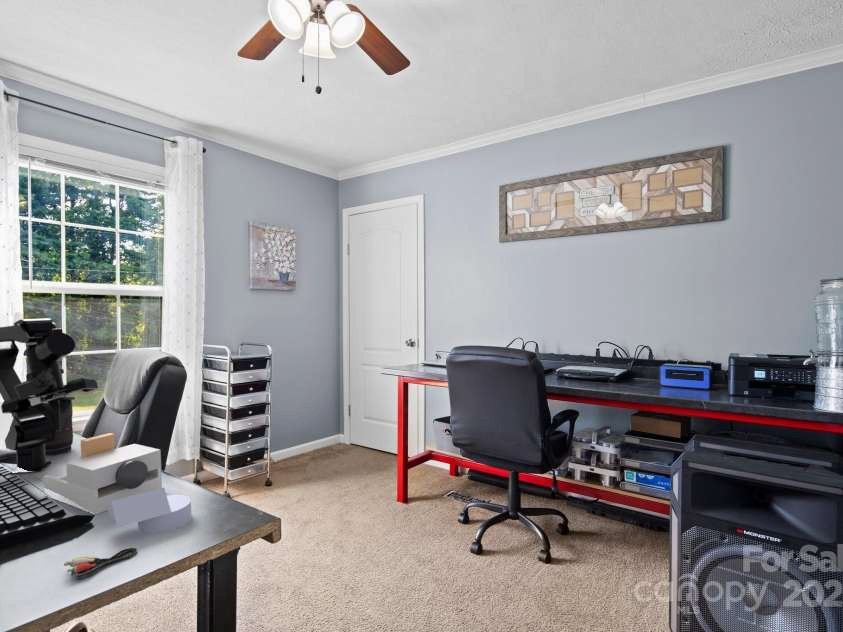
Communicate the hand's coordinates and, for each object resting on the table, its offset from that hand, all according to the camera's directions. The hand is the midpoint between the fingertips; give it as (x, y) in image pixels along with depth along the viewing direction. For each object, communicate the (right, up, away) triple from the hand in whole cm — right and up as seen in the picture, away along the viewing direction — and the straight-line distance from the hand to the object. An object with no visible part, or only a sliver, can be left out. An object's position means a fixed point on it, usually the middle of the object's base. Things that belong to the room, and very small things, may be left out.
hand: (58, 429), depth 113 cm
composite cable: (+36, -13, -38) cm, 54 cm away
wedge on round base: (+36, -13, -24) cm, 45 cm away
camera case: (+17, -12, -9) cm, 23 cm away
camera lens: (-17, -12, +21) cm, 29 cm away
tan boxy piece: (+18, -9, -9) cm, 22 cm away
